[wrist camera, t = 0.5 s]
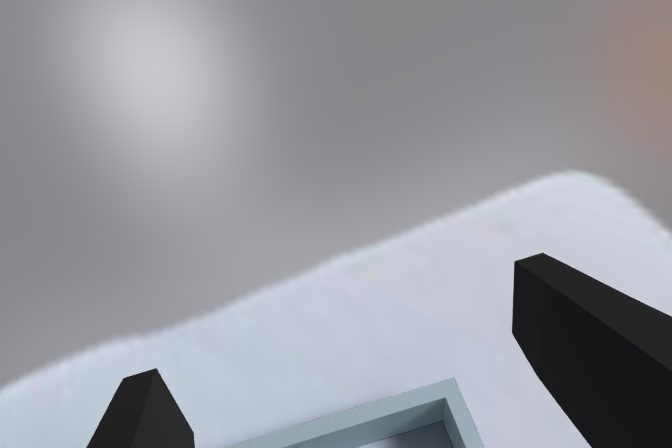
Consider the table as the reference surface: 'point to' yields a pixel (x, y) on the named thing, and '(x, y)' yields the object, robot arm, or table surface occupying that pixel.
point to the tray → (382, 421)
